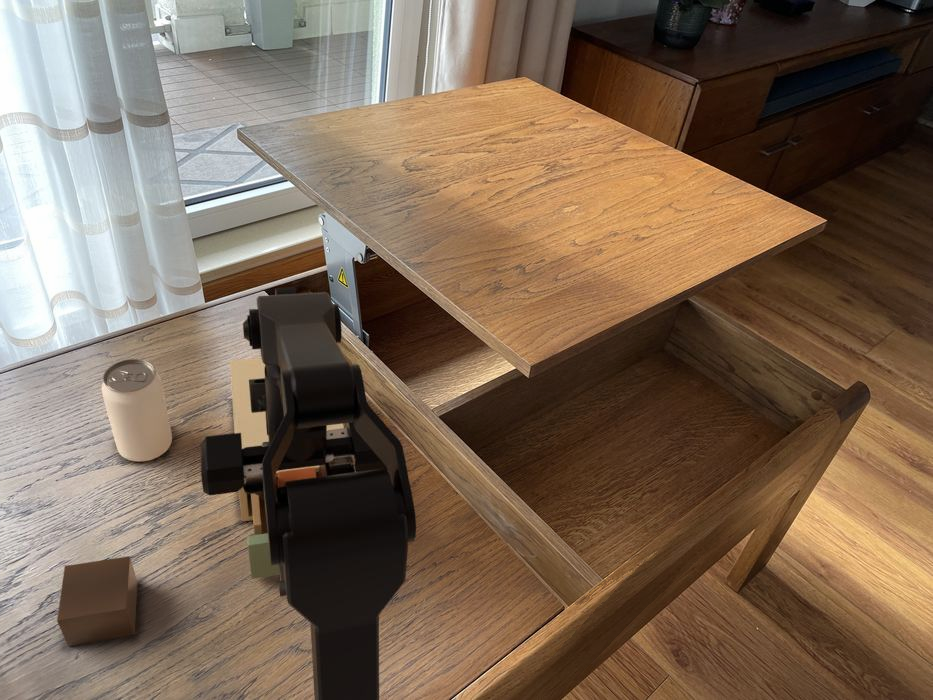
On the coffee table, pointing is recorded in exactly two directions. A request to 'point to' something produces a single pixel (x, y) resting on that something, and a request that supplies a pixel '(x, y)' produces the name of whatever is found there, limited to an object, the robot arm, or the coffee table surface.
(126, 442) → the can
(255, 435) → the cabinet
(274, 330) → the robot arm
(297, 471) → the block
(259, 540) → the drawer
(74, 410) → the coffee table surface
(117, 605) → the brown cube
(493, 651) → the coffee table surface
